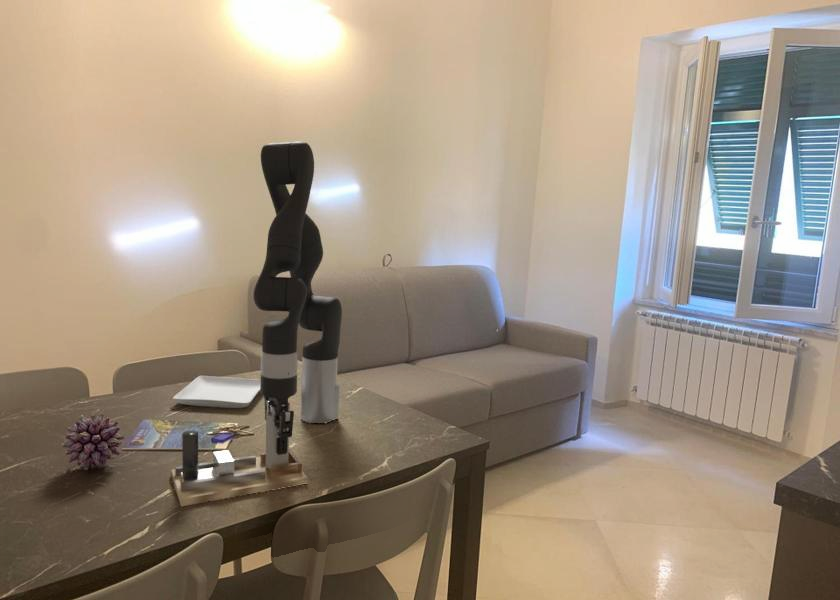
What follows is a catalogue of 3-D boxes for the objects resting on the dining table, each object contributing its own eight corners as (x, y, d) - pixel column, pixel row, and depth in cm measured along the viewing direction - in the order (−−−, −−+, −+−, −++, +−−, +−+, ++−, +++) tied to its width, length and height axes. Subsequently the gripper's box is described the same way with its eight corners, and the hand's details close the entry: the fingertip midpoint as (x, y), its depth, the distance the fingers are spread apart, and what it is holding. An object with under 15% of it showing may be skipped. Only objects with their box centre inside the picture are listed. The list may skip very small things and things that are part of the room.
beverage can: (282, 473, 134) (284, 418, 132) (261, 470, 135) (262, 415, 133) (291, 464, 139) (293, 411, 137) (271, 461, 140) (272, 408, 138)
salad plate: (249, 413, 173) (249, 401, 173) (171, 409, 173) (170, 397, 173) (268, 390, 194) (268, 379, 193) (198, 386, 194) (198, 375, 194)
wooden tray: (287, 458, 145) (288, 443, 145) (307, 484, 133) (308, 468, 133) (170, 476, 133) (170, 460, 133) (181, 506, 121) (180, 489, 121)
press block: (227, 467, 135) (228, 423, 133) (234, 479, 130) (234, 433, 128) (180, 474, 130) (180, 429, 129) (184, 487, 125) (184, 440, 123)
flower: (48, 472, 132) (46, 417, 130) (96, 452, 143) (95, 401, 141) (91, 484, 128) (89, 428, 126) (137, 462, 139) (136, 410, 137)
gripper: (307, 379, 129) (305, 458, 132) (286, 361, 141) (285, 434, 144) (270, 383, 125) (269, 464, 128) (252, 364, 138) (251, 438, 141)
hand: (277, 447), depth 136 cm, fingers open, 5 cm apart
